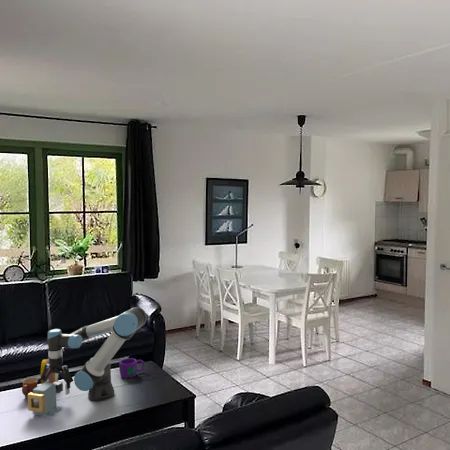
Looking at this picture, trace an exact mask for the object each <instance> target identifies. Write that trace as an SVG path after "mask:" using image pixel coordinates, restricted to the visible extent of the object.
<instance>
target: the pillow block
mask: <svg viewBox="0 0 450 450" xmlns="http://www.w3.org/2000/svg"><path fill="white" fill-rule="evenodd" d="M33 393H40V394H45V408H46V410H45V411H44V412H36V411H32V413H33V414H34V415H36V416H43V417H46V416H47V415H50V416H51V415H53V414H54V413H56V412H58V411H59V407H57V393H56V385H55V383H46V382H45V383H43V384H41V383H40V384H39V385H37V387H36V388H35V389H33ZM34 405H36V406H39V403H38V404H34Z"/></svg>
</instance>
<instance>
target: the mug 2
mask: <svg viewBox="0 0 450 450" xmlns="http://www.w3.org/2000/svg"><path fill="white" fill-rule="evenodd" d="M118 363H119V364H118V365H119V366H118V367H119V374H120V377H121V378H122V379H132V378H134V377H136V376H137V373H138V372H141V371H143V370H144V369H145V367H146V364H145V361H144V360H143V359H136V358H132V357H131V358H130V357H129V358H123V359H121V360H119V361H118ZM138 363H141V364H142V366H141V367H140V368H139V369H138Z"/></svg>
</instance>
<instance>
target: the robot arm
mask: <svg viewBox="0 0 450 450" xmlns="http://www.w3.org/2000/svg"><path fill="white" fill-rule="evenodd" d="M146 322H147V313H146V311H145V310H144V309H143V308H141V307H139V306H136V307H131V308H130V309H128V310H126V311H124V312H121V313H120V314H119V315H116V316H114V317H110V318H107V319H105V320H104V319H103V320H102V321H99V322H95V323H93V324H90V325H84V326H82V327H80V328H78V329H76V330H75V331H73V332H71V333H62V330H61V329H60V328H53V329H50V330H48V331H47V347H48V348H47V350H48V351H47V352H48V358H49V363H48V364H46V365H45V367H44V371H43V373H42V376H41V375H40V381H41V380H43V381H44V383H45V382H46V383H49V380H47V379H48V378H49V376H50V375H51V374H52V372H53V373H58V374H59V376H61V378H62V379H63V381H64V382H65V383H64V384H65V385H64V388H65V390H64V391H65V392H64V393H65V396H68V395H69V394H70V391H71V390H70V388H71V383H72V382H74V385H75V387H76V388H77V389H78V390H80V391H83V392H87V393H88V394H87V398H88V399H89V400H90V401H91V402H92V401H93V402H104V401H108V400H111V399H112V398H113V397H114V396H115V395H116V394H115V389H114V386H113V383H112V375H111V372H112V371H111V370H112V368H111V367H112V366H111V364H112V363H111V360H112V359H113V357H114V356H115V355H116V354H117V352H118V351H119V350H120V348H121V347H122V346H123V344H124V343H125V342H126V341H129V340H130V339H131V338H132V337H133V336H134V334H135V332H136V331H137V330H139V329H140V328H142V327H143V326H144V325H145V324H146ZM109 333H110V334H109ZM106 334H109V336H108V337H107V339H106V340H105V341H104V342H103V344H102V345H101V347H100V348H99V349H98V351H97V352H96V353H95V355H94V356H93V357H91V358H89V360H87V361H86V362H85V364H84V365H83V367H82V368H81V369H80V370H78V371H77V372H76V373H75V374H74V377H72V374H71V373H70V370H69V367H68V364H66V365H63V363H64V359H63V348H66V349H80V347H81V346H82V345H83V342H85V341H87V340H90V339H93V338H96V337H99V336H103V335H106ZM49 364H50V365H49ZM49 368H50V371H49V373H48V374H47V375H46V373H47V371H48V369H49ZM45 376H46V377H45Z"/></svg>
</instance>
